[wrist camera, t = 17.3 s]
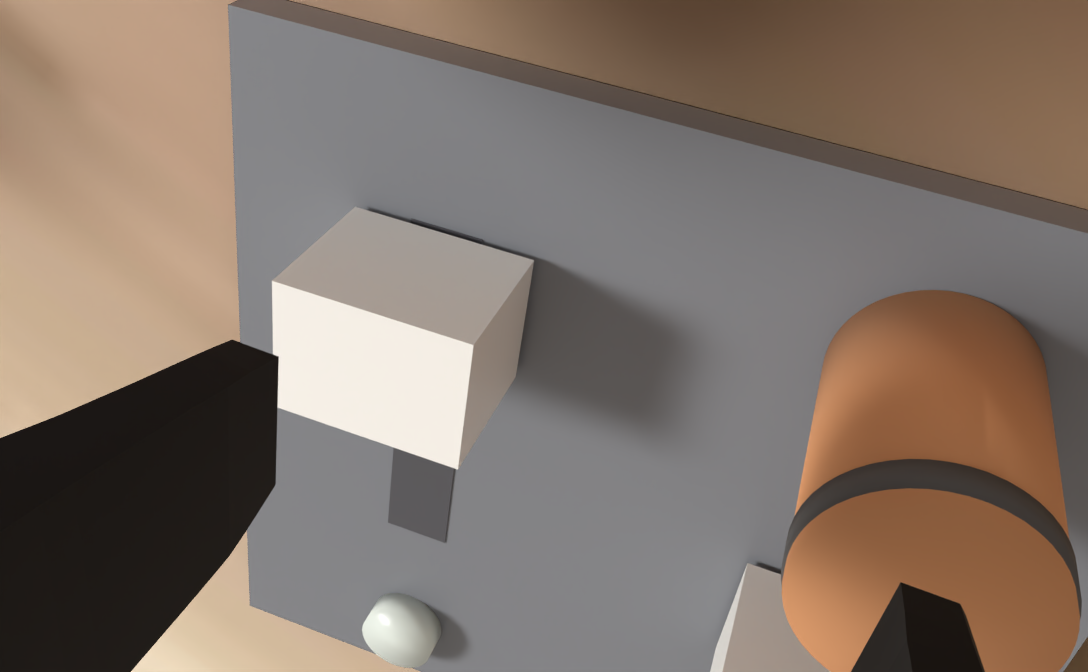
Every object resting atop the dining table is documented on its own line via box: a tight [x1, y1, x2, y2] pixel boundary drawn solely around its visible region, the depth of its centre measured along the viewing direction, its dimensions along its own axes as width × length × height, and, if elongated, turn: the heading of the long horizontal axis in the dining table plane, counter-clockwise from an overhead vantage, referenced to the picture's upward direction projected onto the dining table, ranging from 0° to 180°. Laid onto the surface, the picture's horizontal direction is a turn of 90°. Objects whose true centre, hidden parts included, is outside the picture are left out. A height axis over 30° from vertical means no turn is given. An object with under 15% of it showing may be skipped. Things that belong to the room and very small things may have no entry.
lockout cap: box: [781, 290, 1082, 672], centre depth 17 cm, size 4×4×6 cm
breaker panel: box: [228, 0, 1088, 672], centre depth 24 cm, size 18×20×2 cm
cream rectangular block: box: [272, 207, 534, 469], centre depth 21 cm, size 3×4×3 cm
